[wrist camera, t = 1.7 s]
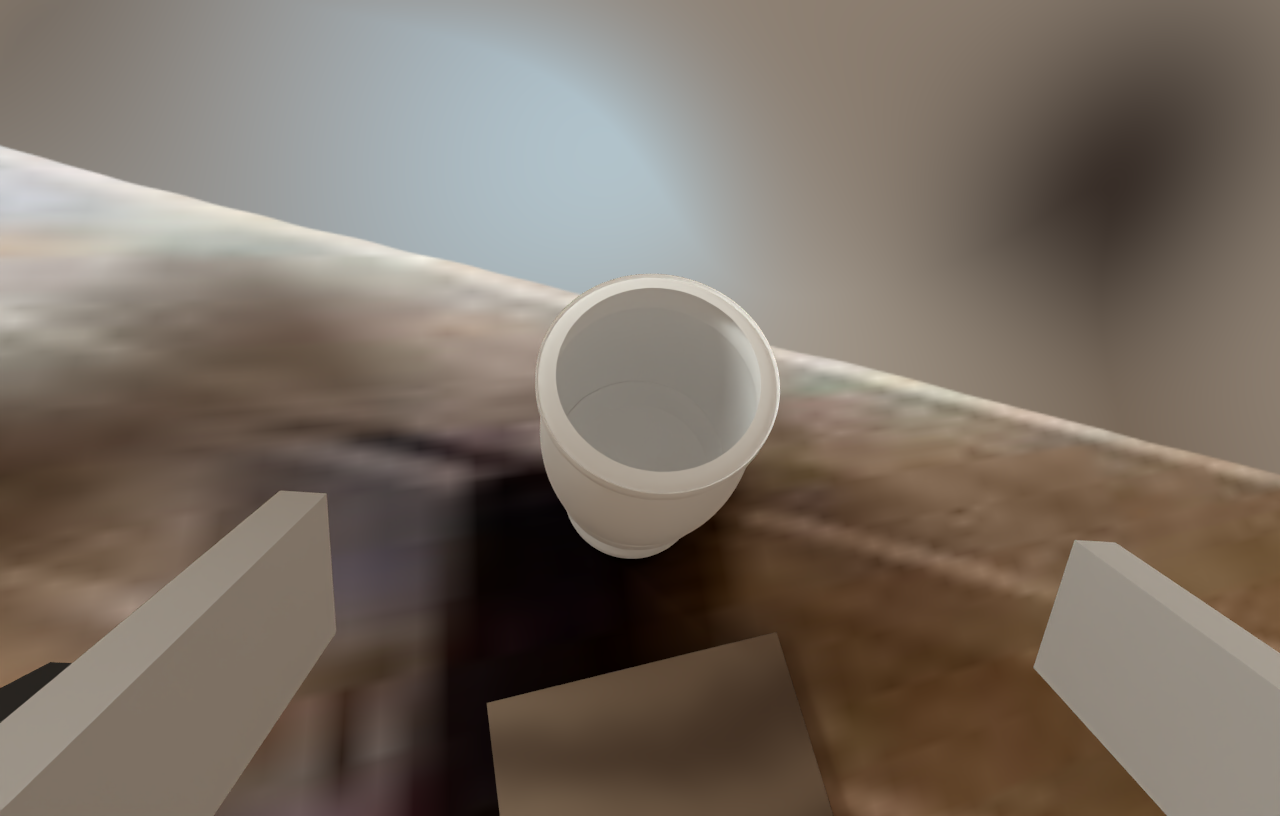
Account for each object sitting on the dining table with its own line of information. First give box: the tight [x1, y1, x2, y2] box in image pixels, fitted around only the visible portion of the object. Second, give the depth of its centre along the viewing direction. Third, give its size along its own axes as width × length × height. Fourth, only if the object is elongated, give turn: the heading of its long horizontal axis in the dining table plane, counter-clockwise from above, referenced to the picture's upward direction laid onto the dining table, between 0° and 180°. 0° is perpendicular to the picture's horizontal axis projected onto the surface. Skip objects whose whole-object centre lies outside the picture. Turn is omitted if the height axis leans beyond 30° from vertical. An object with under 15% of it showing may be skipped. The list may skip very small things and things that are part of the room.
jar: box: [535, 274, 780, 559], centre depth 33 cm, size 11×10×15 cm
